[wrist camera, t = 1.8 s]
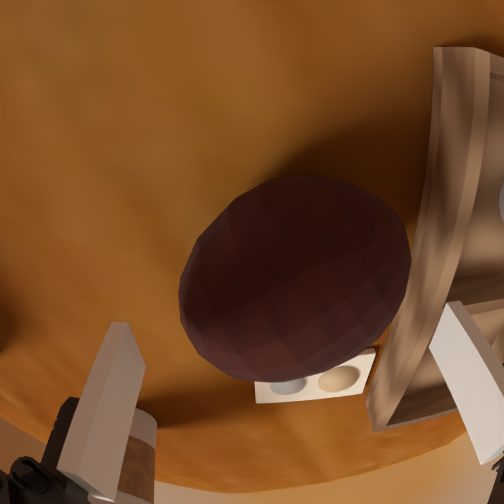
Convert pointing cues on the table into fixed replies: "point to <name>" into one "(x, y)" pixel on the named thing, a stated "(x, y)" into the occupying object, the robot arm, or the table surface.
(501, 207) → the ball
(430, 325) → the divided wooden tray
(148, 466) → the coffee cup
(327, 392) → the tile
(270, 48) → the table surface
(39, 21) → the table surface
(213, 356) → the dark brown ovoid
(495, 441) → the robot arm
